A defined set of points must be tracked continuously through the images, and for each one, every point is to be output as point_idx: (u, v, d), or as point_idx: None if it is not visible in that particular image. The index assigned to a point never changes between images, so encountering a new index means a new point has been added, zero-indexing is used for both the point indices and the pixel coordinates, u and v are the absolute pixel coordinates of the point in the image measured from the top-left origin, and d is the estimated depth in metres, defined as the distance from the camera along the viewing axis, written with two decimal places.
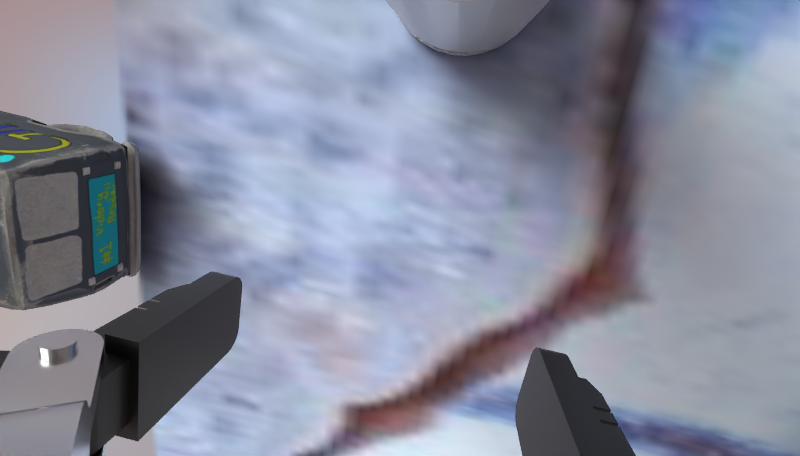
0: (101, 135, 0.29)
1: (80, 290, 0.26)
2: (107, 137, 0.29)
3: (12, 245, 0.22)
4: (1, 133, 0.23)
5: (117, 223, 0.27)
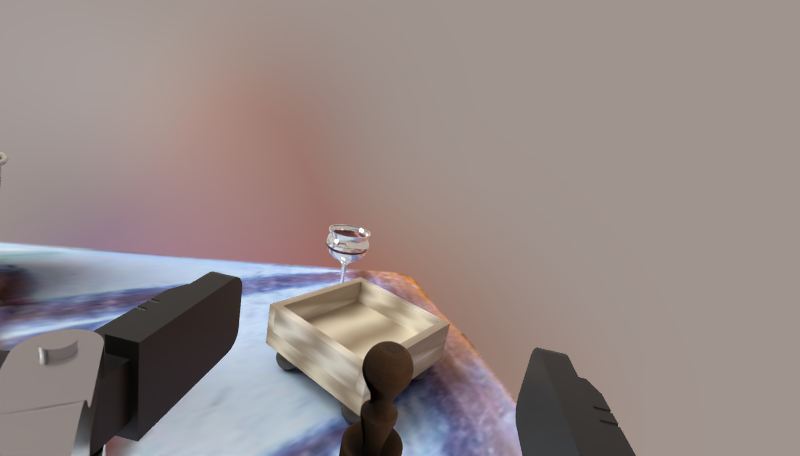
0: None
1: None
2: None
3: None
4: None
5: None
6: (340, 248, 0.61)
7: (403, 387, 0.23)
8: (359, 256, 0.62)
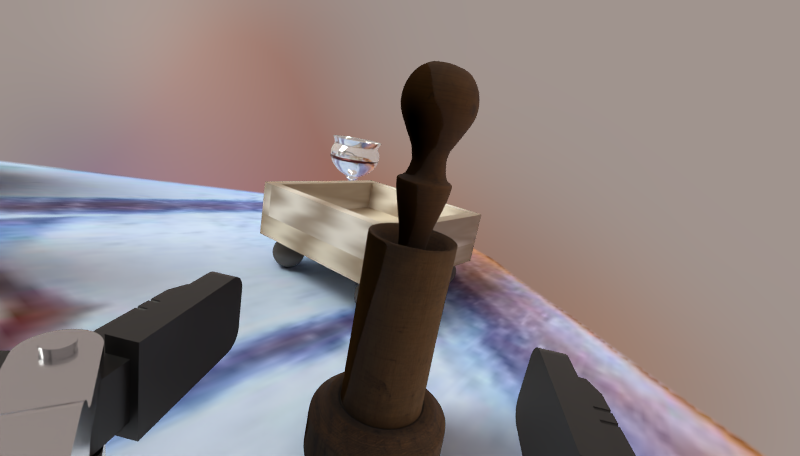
0: None
1: None
2: None
3: None
4: None
5: None
6: (346, 154, 0.53)
7: (467, 115, 0.15)
8: (368, 167, 0.54)
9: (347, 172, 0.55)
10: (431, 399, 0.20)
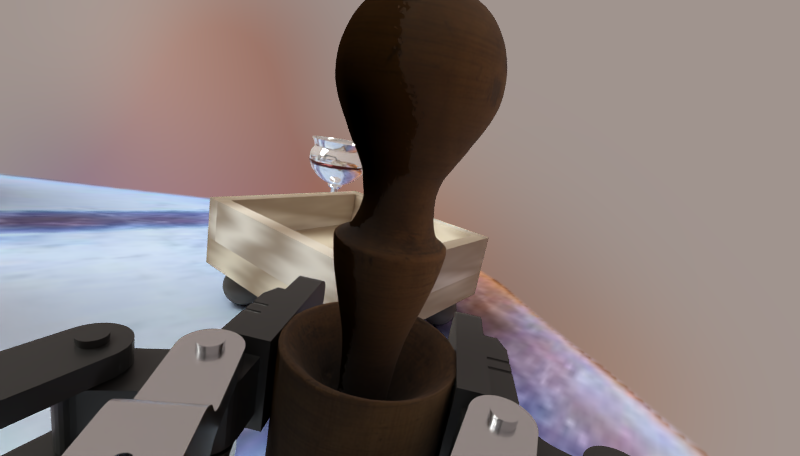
0: None
1: None
2: None
3: None
4: None
5: None
6: (327, 159, 0.44)
7: (481, 103, 0.06)
8: (353, 173, 0.46)
9: (329, 180, 0.46)
10: None
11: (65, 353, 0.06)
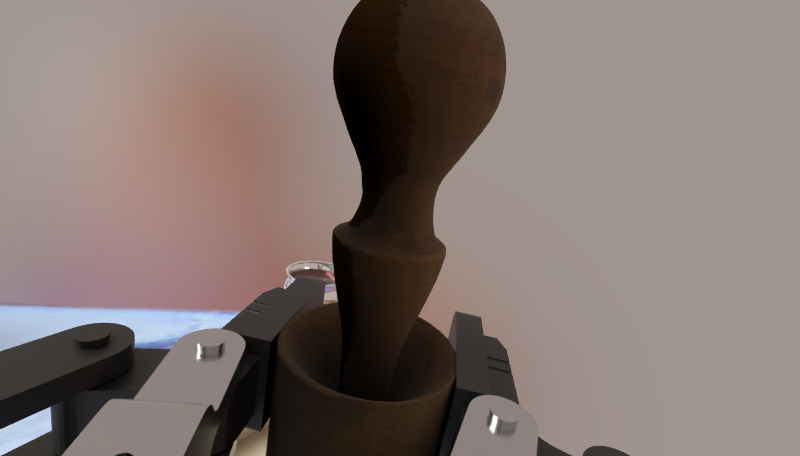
0: None
1: None
2: None
3: None
4: None
5: None
6: None
7: (480, 102, 0.06)
8: None
9: None
10: None
11: (65, 353, 0.06)
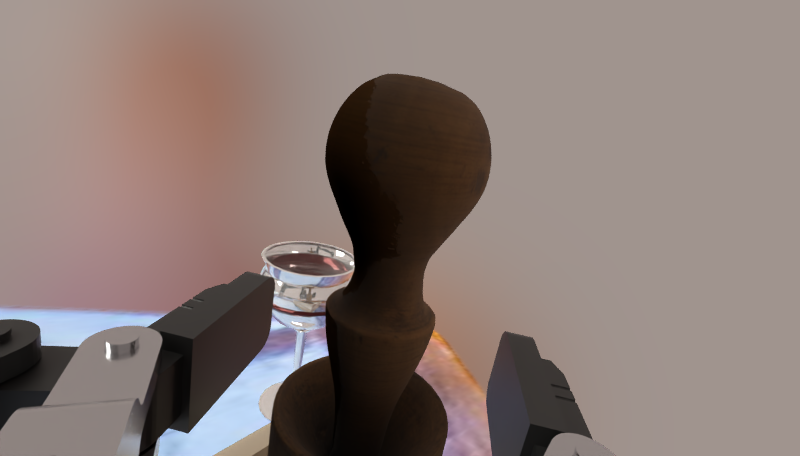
0: None
1: None
2: None
3: None
4: None
5: None
6: (284, 301, 0.25)
7: (465, 196, 0.07)
8: None
9: (290, 327, 0.27)
10: None
11: None
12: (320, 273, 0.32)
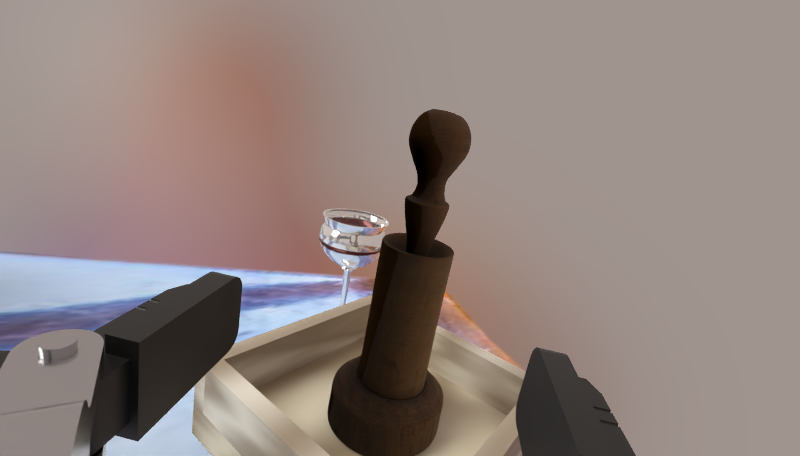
0: None
1: None
2: None
3: None
4: None
5: None
6: (341, 244, 0.38)
7: (461, 152, 0.19)
8: (371, 258, 0.39)
9: (342, 264, 0.39)
10: (432, 378, 0.24)
11: None
12: None
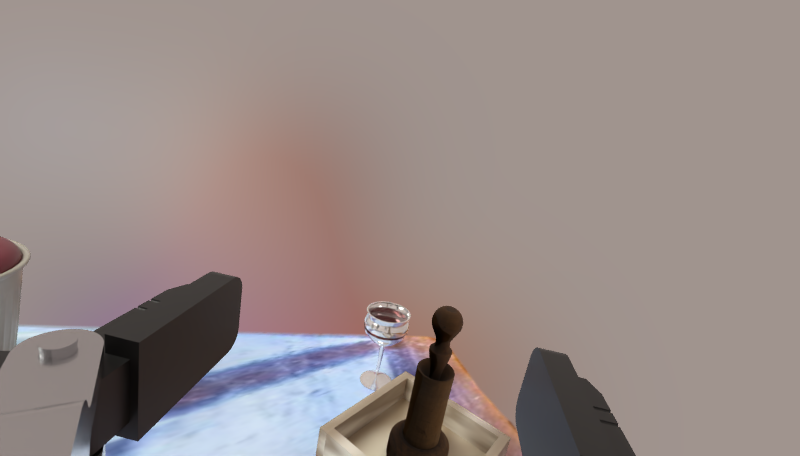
0: None
1: None
2: None
3: None
4: None
5: None
6: (380, 334, 0.57)
7: (458, 332, 0.39)
8: (399, 340, 0.59)
9: (380, 344, 0.59)
10: (442, 435, 0.44)
11: None
12: (388, 316, 0.64)
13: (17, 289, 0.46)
